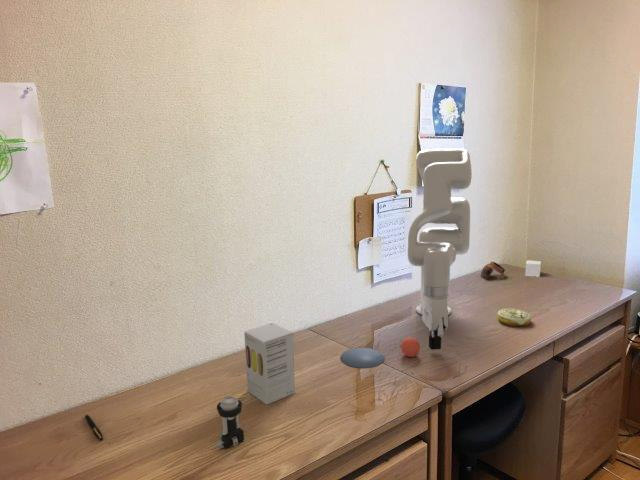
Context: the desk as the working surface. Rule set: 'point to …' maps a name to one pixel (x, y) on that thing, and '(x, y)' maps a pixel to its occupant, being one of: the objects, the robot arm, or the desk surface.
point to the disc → (362, 357)
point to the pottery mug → (489, 269)
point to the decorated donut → (514, 317)
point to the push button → (230, 422)
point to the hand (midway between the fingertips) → (434, 348)
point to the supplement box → (270, 362)
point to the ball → (410, 347)
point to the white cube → (533, 268)
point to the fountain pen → (94, 427)
